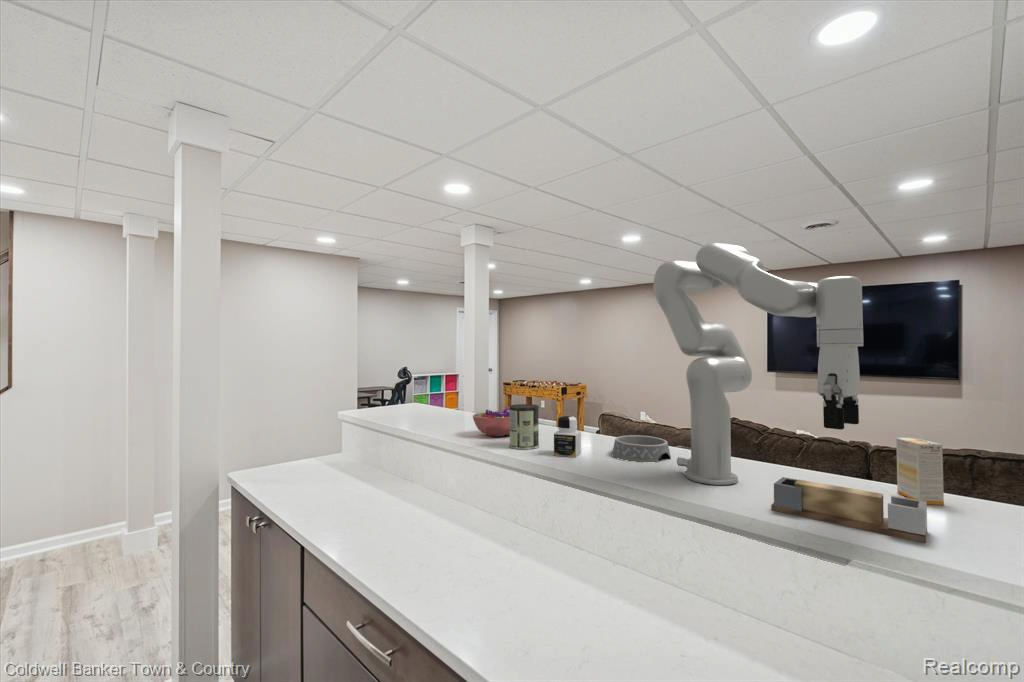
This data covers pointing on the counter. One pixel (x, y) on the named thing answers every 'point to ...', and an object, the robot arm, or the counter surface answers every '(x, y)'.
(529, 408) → the coffee can
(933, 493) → the supplement box
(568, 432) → the medicine bottle
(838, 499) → the slat
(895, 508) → the bracket
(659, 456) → the dog bowl
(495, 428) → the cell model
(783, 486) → the grey end holder
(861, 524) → the base board
